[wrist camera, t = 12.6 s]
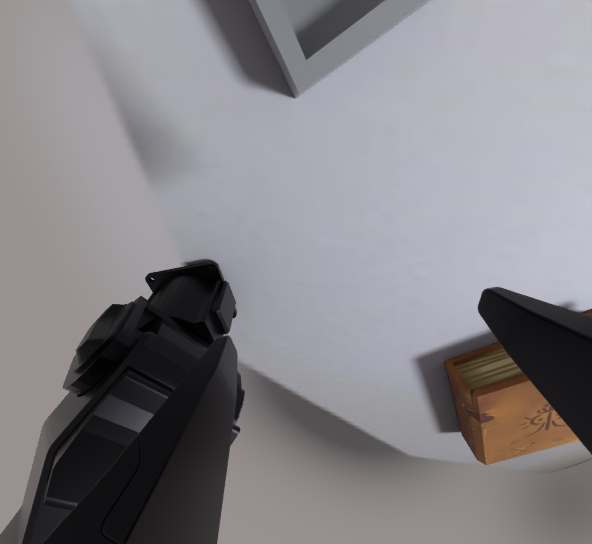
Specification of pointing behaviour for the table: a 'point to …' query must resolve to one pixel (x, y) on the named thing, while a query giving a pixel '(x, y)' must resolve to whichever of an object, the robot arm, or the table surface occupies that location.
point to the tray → (324, 32)
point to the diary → (502, 407)
